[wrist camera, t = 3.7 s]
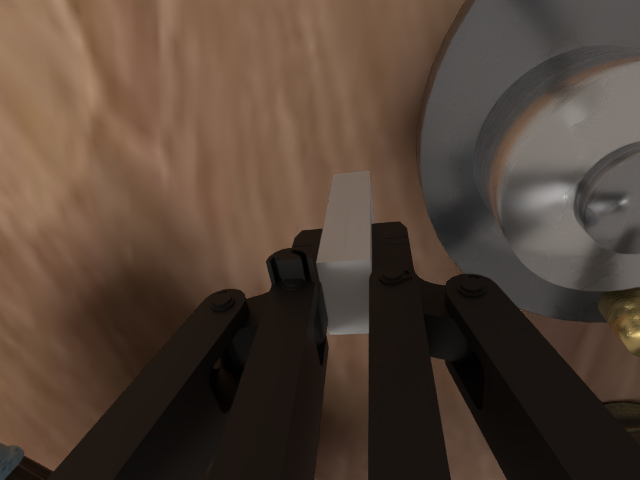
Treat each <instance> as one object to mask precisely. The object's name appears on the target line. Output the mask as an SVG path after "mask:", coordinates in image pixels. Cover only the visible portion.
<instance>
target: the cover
mask: <svg viewBox="0 0 640 480" xmlns="http://www.w3.org/2000/svg"><path fill="white" fill-rule="evenodd" d="M473 174H474V179H475V184H476V187H477V189H478V192H479V194H480V196H481V198H482V200H483V202H484V203H485V205H486V207H487V208H488V210H489V212H490V213H491V215H492V217H493V218H494V220H495V222H496V223H497V225H498V226H499V228H500V230H501V231H502V233H503V235H504V236H505V238H506V240H507V241H508V243H509V245H510V246H511V248H512V250H513V251H514V253H515V254H516V256H517V257H518V258H519V260H520V261H521V262H522V263H523V264H524V265H525V266H526V267H527V268H528V269H529V270H530V271H532V272H533V273H535V274H536V275H538V276H539V277H541V278H543V279H545V280H547V281H549V282H551V283H553V284H556V285H559V286H562V287H565V288H570V289H575V290H582V291H616V290H625V289H630V288H635V287H640V49H637V48H631V47H625V46H618V45H596V46H587V47H582V48H578V49H573V50H570V51H567V52H564V53H561V54H559V55H556V56H554V57H552V58H550V59H548V60H546V61H544V62H542V63H540V64H539V65H537V66H535V67H534V68H532V69H530V70H529V71H528V72H527V73H525V74H524V75H523V76H521V77H520V78H519V79H517V80H516V81H515V82H514V83H513V84H512V85H511V86H510V87H509V88H508V89H507V90H506V91H505V92H504V93H503V94H502V95H501V97H500V98H499V99H498V100H497V101H496V103H495V104H494V106H493V107H492V109H491V110H490V111H489V113H488V115H487V117H486V119H485V120H484V122H483V124H482V126H481V129H480V132H479V134H478V137H477V140H476V144H475V148H474V156H473Z"/></svg>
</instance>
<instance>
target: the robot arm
mask: <svg viewBox="0 0 640 480" xmlns="http://www.w3.org/2000/svg"><path fill="white" fill-rule="evenodd" d="M266 264H267V268H268V272H269V275H270V279H271V283H272V286H271V289H270V291H269V292H267V293H265V294H262V295H259V296H255V297H252V298H248V299H246V297H245V294H244V293H243V292H242V291H240V290H237V289H225V290H221V291H218V292H216V293H214V294H212V295H210V296H209V297H207V298H206V299H205V300H204V301H203V302H202V303H201V304H200V305H199V307H198V308H197V309H196V310H195V311H194V312H193V313H192V315H191V316H190V317H189V318H188V319H187V320H186V321H185V322H184V324H183V325H182V326H181V327H180V328H179V329H178V330H177V332H176V333H175V334H174V335H173V336H172V337H171V338H170V340H169V341H168V342H167V343H166V344H165V345H164V346H163V348H162V349H161V350H160V351H159V352H158V353H157V354H156V356H155V357H154V358H153V359H152V360H151V361H150V362H149V364H148V365H147V366H146V367H145V368H144V369H143V370H142V372H141V373H140V374H139V375H138V376H137V377H136V378H135V380H134V381H133V382H132V383H131V384H130V385H129V386H128V387H127V389H126V390H125V391H124V392H123V393H122V394H121V395H120V397H119V398H118V399H117V400H116V401H115V402H114V403H113V405H112V406H111V407H110V408H109V409H108V410H107V411H106V413H105V414H104V415H103V416H102V417H101V418H100V419H99V421H98V422H97V423H96V424H95V425H94V426H93V427H92V429H91V430H90V431H89V432H88V433H87V434H86V435H85V437H84V438H83V439H82V440H81V441H80V442H79V443H78V445H77V446H76V447H75V448H74V449H73V450H72V451H71V452H70V454H69V455H68V456H67V457H66V458H65V459H64V460H63V462H62V463H61V464H60V465H59V466H58V467H57V468H56V470H55V471H52V470H50V469H48V468H46V467H44V466H43V465H41V464H39V463H37V462H35V461H33V460H31V459H30V458H28V457H26V456H24V451H23V450H22V449H21V448H20V447H18V446H16V445H12V446H6V445H4V444H2V443H0V480H314V474H315V465H316V456H317V447H318V438H319V429H320V420H321V411H322V402H323V393H324V384H325V375H326V366H327V357H328V348H329V347H328V341H327V336H326V333H327V325H328V329H329V334H330V335H339V334H366V333H369V428H368V480H451V478H450V472H449V466H448V460H447V454H446V448H445V442H444V436H443V430H442V424H441V418H440V412H439V406H438V400H437V394H436V388H435V382H434V376H433V370H432V364H431V358H430V356H431V357H435V358H439V359H444V360H445V363H446V366H447V368H448V370H449V372H450V374H451V376H452V378H453V379H454V381H455V383H456V385H457V387H458V389H459V391H460V393H461V394H462V396H463V398H464V400H465V402H466V404H467V406H468V408H469V409H470V411H471V413H472V415H473V417H474V419H475V421H476V423H477V424H478V426H479V428H480V430H481V432H482V434H483V436H484V438H485V439H486V441H487V443H488V445H489V447H490V449H491V451H492V453H493V454H494V456H495V458H496V460H497V462H498V464H499V466H500V468H501V469H502V471H503V473H504V475H505V477H506V479H507V480H640V445H639V444H638V443H637V442H636V441H635V439H634V438H633V437H632V436H631V435H630V434H629V433H628V432H627V430H626V429H625V428H624V427H623V426H622V425H621V424H620V423H619V421H618V420H617V419H616V418H615V417H614V416H613V415H612V413H611V412H610V411H609V410H608V409H607V408H606V407H605V406H604V404H603V403H602V402H601V401H600V400H599V399H598V398H597V397H596V395H595V394H594V393H593V392H592V391H591V390H590V389H589V387H588V386H587V385H586V384H585V383H584V382H583V381H582V380H581V378H580V377H579V376H578V375H577V374H576V373H575V372H574V371H573V369H572V368H571V367H570V366H569V365H568V364H567V363H566V362H565V360H564V359H563V358H562V357H561V356H560V355H559V354H558V352H557V351H556V350H555V349H554V348H553V347H552V346H551V345H550V343H549V342H548V341H547V340H546V339H545V338H544V337H543V336H542V334H541V333H540V332H539V331H538V330H537V329H536V328H535V326H534V325H533V324H532V323H531V322H530V321H529V320H528V319H527V317H526V316H525V315H524V314H523V313H522V312H521V311H520V310H519V308H518V307H517V306H516V305H515V304H514V303H513V302H512V301H511V299H510V298H509V297H508V296H507V295H506V294H505V293H504V291H503V290H502V289H501V288H500V287H499V286H498V285H497V284H496V283H495V282H494V281H493V280H491V279H490V278H488V277H485V276H482V275H478V274H471V273H470V274H460V275H457V276H454V277H452V278H451V279H450V280H448V281H447V283H446V286H445V285H438V284H433V283H429V282H427V281H424V280H423V279H421V278H420V277H418V276H417V274H416V273H415V271H414V268H413V262H412V256H411V250H410V244H409V238H408V232H407V228H406V227H405V226H404V225H403V224H402V223H401V222H387V223H375V222H374V211H373V201H372V190H371V179H370V170H369V171H359V172H350V173H340V174H334V175H333V180H332V185H331V190H330V195H329V200H328V206H327V211H326V216H325V221H324V226H323V229H314V230H302V231H301V232H300V233H299V234H298V235H297V236H296V237H295V239H294V242H293V245H292V248H287V249H282V250H280V251H277V252H275V253H274V254H272V255H271V256H270V257H269V258H268V259H267V261H266ZM218 359H219V360H218ZM217 361H218V362H217ZM216 362H217V363H216ZM215 364H216V365H215Z"/></svg>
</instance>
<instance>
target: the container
mask: <svg viewBox="0 0 640 480" xmlns="http://www.w3.org/2000/svg"><path fill="white" fill-rule="evenodd" d="M604 406H605V407H606V408H607V409H608V410H609V411H610V412H611V413H612V415H613V416H614V417H615V418H616V419H617V420H618V421H619V423H620V424H621V425H622V426H623V427H624V428H625V429H626V430H627V432H628V433H629V434H630V435H631V436H632V437H633V438H634V439H635V441H636V442H637V443H638V444H639V445H640V405H638V404H633V403H610V404H604Z"/></svg>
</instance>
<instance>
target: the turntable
mask: <svg viewBox="0 0 640 480" xmlns="http://www.w3.org/2000/svg"><path fill="white" fill-rule="evenodd" d="M596 45H618V46H625V47H631V48H637V49H640V0H466V2H465V3H464V4H463V6H462V8H461V9H460V11H459V13H458V15H457V16H456V18H455V20H454V22H453V23H452V25H451V27H450V29H449V30H448V32H447V34H446V36H445V37H444V40H443V42H442V44H441V47H440V49H439V51H438V54H437V56H436V58H435V61H434V63H433V65H432V67H431V70H430V74H429V77H428V80H427V84H426V87H425V90H424V94H423V97H422V102H421V107H420V113H419V119H418V125H417V144H416V157H417V167H418V177H419V182H420V186H421V189H422V193H423V197H424V201H425V204H426V208H427V211H428V214H429V217H430V220H431V222H432V224H433V227H434V229H435V231H436V234H437V236H438V238H439V240H440V241H441V243H442V245H443V246H444V248H445V249H446V251H447V253H448V254H449V256H450V257H451V258H452V260H453V261H454V262H455V263H456V264H457V265H458V266H459V268H460V269H461V270H462V271H463V272H464V273H465V274H470V273H471V274H478V275H482V276H485V277H488V278H490V279H491V280H493V281H494V282H495V283H496V284H497V285H498V286H499V287H500V288H501V289H502V290H503V291H504V293H505V294H506V295H507V296H508V297H509V298H510V299H511V301H512V302H513V303H514V304H515V305H516V306H517V307H518V308H520V309H523V310H526V311H529V312H533V313H536V314H539V315H542V316H547V317H552V318H557V319H562V320H570V321H581V322H608V324H609V325H610V326H611V328H612V329H613V330H614V332H615V333H616V334H617V335H618V337H619V338H620V339H621V341H622V342H623V343H624V345H625V346H626V347H627V349H628V350H629V351H630V352H631V353H632V354H634V355H636V356H640V287H635V288H630V289H625V290H616V291H582V290H575V289H570V288H565V287H562V286H559V285H556V284H553V283H551V282H549V281H547V280H545V279H543V278H541V277H539V276H538V275H536V274H535V273H533V272H532V271H530V270H529V269H528V268H527V267H526V266H525V265H524V264H523V263H522V262H521V261H520V260H519V258H518V257H517V256H516V254H515V253H514V251H513V250H512V248H511V246H510V245H509V243H508V241H507V240H506V238H505V236H504V235H503V233H502V231H501V230H500V228H499V226H498V225H497V223H496V222H495V220H494V218H493V217H492V215H491V213H490V212H489V210H488V208H487V207H486V205H485V203H484V202H483V200H482V198H481V196H480V194H479V192H478V189H477V187H476V184H475V179H474V174H473V156H474V148H475V144H476V140H477V137H478V134H479V132H480V129H481V126H482V124H483V122H484V120H485V119H486V117H487V115H488V113H489V111H490V110H491V109H492V107H493V106H494V104H495V103H496V101H497V100H498V99H499V98H500V97H501V95H502V94H503V93H504V92H505V91H506V90H507V89H508V88H509V87H510V86H511V85H512V84H513V83H514V82H515V81H516V80H517V79H519V78H520V77H521V76H523V75H524V74H525V73H527V72H528V71H529V70H530V69H532V68H534V67H535V66H537V65H539V64H540V63H542V62H544V61H546V60H548V59H550V58H552V57H554V56H556V55H559V54H561V53H564V52H567V51H570V50H573V49H578V48H582V47H587V46H596Z"/></svg>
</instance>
